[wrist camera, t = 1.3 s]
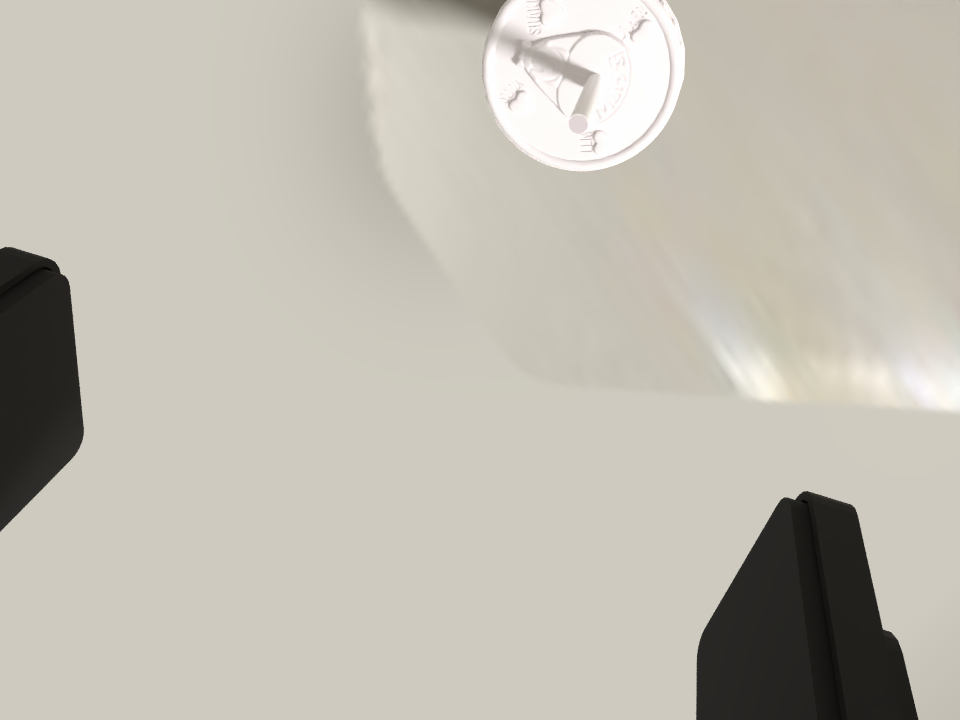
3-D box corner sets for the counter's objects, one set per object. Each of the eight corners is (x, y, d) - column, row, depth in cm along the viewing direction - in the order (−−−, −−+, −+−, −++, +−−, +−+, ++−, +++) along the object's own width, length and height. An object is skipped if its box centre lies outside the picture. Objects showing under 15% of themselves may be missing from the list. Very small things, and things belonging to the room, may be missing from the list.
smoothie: (652, 114, 36) (626, 257, 24) (512, 63, 36) (420, 182, 24) (717, -43, 32) (723, 39, 20) (560, -99, 32) (479, -48, 21)
